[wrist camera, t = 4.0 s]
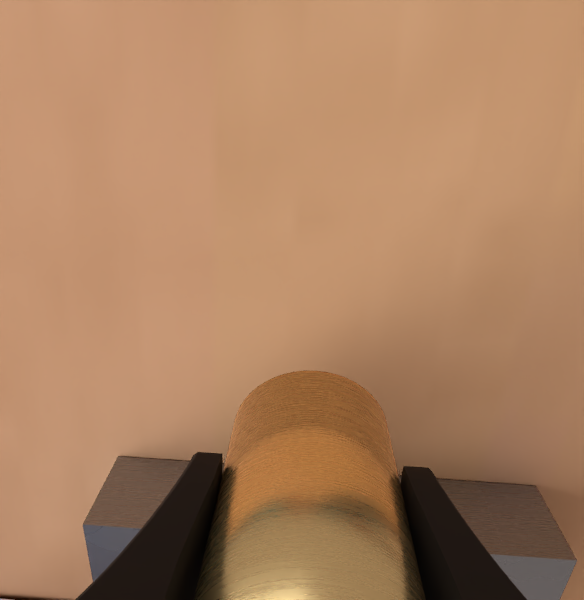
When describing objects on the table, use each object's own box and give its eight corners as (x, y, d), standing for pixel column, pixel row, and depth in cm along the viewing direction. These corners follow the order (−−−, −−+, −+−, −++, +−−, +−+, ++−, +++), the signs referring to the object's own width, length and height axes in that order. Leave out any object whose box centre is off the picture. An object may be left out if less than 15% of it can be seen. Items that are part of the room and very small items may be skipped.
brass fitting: (233, 487, 15) (172, 800, 8) (233, 365, 13) (155, 645, 6) (377, 497, 15) (427, 820, 8) (398, 376, 13) (484, 669, 6)
